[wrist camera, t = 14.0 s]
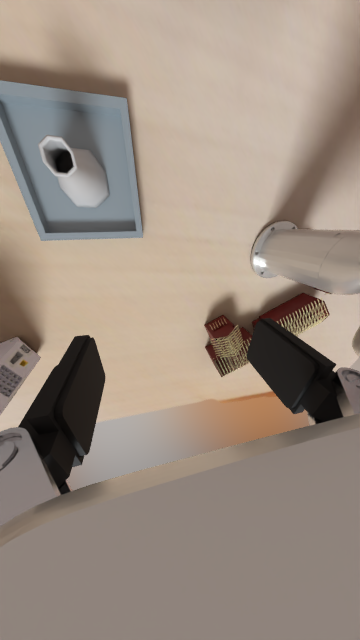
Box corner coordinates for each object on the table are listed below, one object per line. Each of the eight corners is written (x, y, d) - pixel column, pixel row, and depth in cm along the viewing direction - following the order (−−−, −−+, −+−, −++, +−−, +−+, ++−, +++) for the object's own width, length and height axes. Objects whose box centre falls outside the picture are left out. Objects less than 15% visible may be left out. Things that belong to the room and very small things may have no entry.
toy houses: (215, 366, 56) (229, 391, 47) (193, 324, 45) (207, 347, 36) (330, 305, 55) (366, 319, 46) (338, 246, 44) (388, 251, 35)
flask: (43, 156, 22) (-11, 114, 14) (92, 140, 23) (69, 90, 14) (76, 215, 26) (49, 210, 18) (117, 200, 27) (110, 189, 18)
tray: (127, 109, 23) (126, 98, 21) (142, 236, 31) (143, 237, 29) (-9, 92, 19) (-27, 76, 17) (48, 239, 28) (41, 240, 26)
